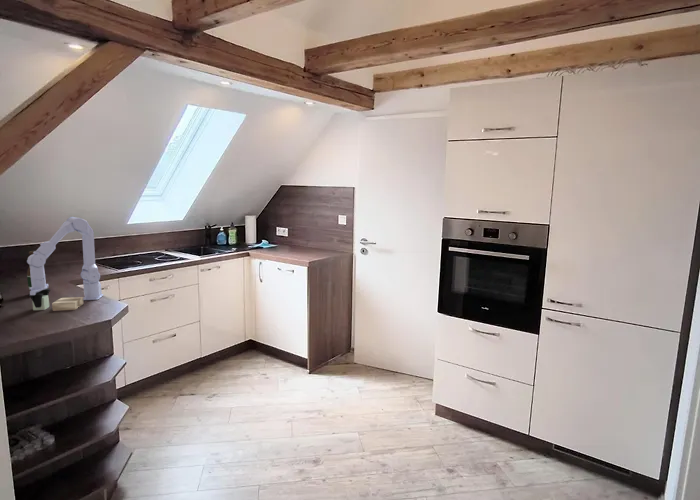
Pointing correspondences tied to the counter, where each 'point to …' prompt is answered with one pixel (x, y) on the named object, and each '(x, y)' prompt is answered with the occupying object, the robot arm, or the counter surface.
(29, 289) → the beer bottle
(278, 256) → the counter surface
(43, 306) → the sage block
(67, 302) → the birch base
